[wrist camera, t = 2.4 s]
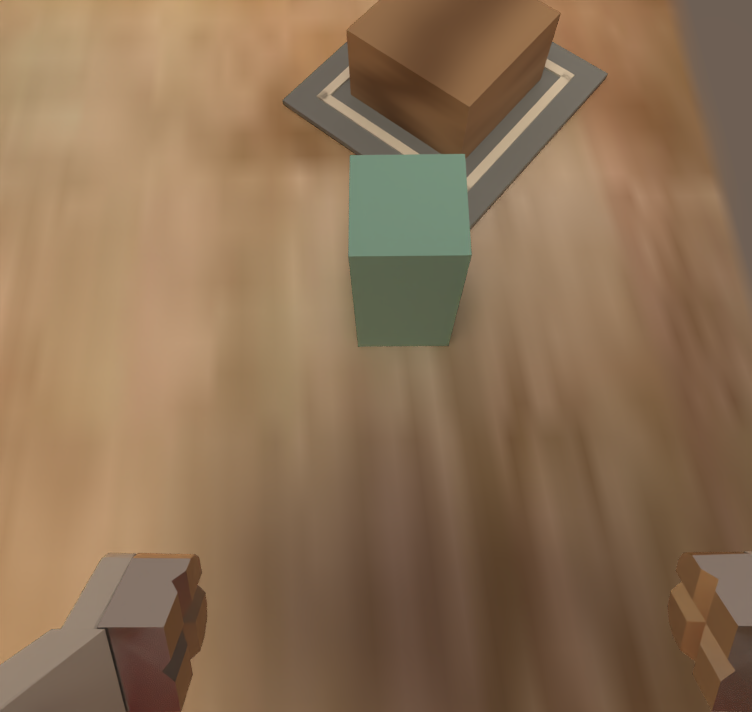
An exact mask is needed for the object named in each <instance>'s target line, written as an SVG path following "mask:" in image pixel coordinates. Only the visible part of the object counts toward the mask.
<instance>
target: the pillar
mask: <svg viewBox="0 0 752 712" xmlns="http://www.w3.org/2000/svg"><path fill="white" fill-rule="evenodd" d="M471 256H472V254H471V239H470V223H469V208H468V192H467V177H466V162H465V154H412V155H350V177H349V251H348V257H349V266H350V275H351V285H352V294H353V303H354V312H355V321H356V331H357V340H358V347H362V346H448V345H449V341H450V337H451V334H452V330H453V326H454V322H455V318H456V314H457V310H458V306H459V302H460V298H461V295H462V291H463V287H464V283H465V279H466V275H467V271H468V267H469V263H470V259H471Z"/></svg>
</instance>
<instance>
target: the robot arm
mask: <svg viewBox="0 0 752 712" xmlns="http://www.w3.org/2000/svg"><path fill="white" fill-rule="evenodd" d="M675 571H676V573H677V574H678V576H679V578H680V580H681V582H680V583H679V584H678V585H677V586H676V587H674V588H673V589H672V590H671V591H670V596H669V601H668V606H667V607H668V618H669V625H670V628H671V632H672V635H673V637H674V639H675V642H676V644H677V646H678V648H679V650H680V651H682V652H683V653H684V654H686V655H687V656H688V657H690V658H691V659H692V660H694V661H695V664H694V668H693V672H692V675H693V677H694V679H695V681H696V682H697V684H698V686H699V688H700V690H701V692H702V694H703V696H704V698H705V700H706V701H707V703H708V705H709V707H710V709H711V711H713V712H752V551H744V552H683V554H682V555H681V556H680V558H679V559H678V563H677V566H676V570H675ZM201 574H202V569H201V564H200V559H199V557H198V556H197V555H195V554H162V553H138V554H130V553H108V554H107V555H105V556H104V557H103V558H102V559H101V560H100V562H99V563H98V565H97V567H96V569H95V570H94V572H93V574H92V576H91V577H90V579H89V581H88V582H87V584H86V586H85V588H84V589H83V591H82V593H81V595H80V596H79V598H78V600H77V602H76V603H75V605H74V607H73V608H72V610H71V612H70V614H69V615H68V617H67V619H66V621H65V622H64V624H63V626H62V627H61V629H51V630H50V631H48V632H47V633H45V634H44V635H42V636H41V637H40V638H38V639H37V640H35V641H34V642H32V643H31V644H29V645H28V646H27V647H25V648H24V649H22V650H21V651H19V652H18V653H17V654H15V655H14V656H12V657H11V658H9V659H8V660H6V661H5V662H4V663H2V664H1V665H0V712H181V710H182V707H183V704H184V701H185V698H186V695H187V691H188V688H189V685H190V682H191V679H192V676H193V672H192V667H191V661H190V660H191V659H192V658H193V657H194V656H195V655H196V654H197V653H198V652H199V651H200V650H201V647H202V643H203V640H204V636H205V630H206V623H207V600H206V593H205V592H204V591H203V590H202V589H201V588H200V587H199V586H198V583H199V580H200V577H201Z"/></svg>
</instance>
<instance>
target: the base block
mask: <svg viewBox="0 0 752 712" xmlns="http://www.w3.org/2000/svg"><path fill="white" fill-rule="evenodd" d="M560 14H561V13H560V12H558V11H557V10H555V9H553V8H551V7H550V6H548V5H546V4H544V3H542V2H541V1H539V0H379V1H378V2H377V3H376V4H375V5H374V6H372V7H371V8H370V9H369V10H368V11H367V12H366V13H365V14H364V15H362V16H361V17H360V18H359V19H358V20H357V21H356V22H355V23H354V24H352V25H351V26H350V27H349V28H348V29H347V45H348V59H349V74H350V89H351V95H352V96H354V97H355V98H357V99H358V100H360V101H361V102H363V103H364V104H366V105H368V106H369V107H371V108H372V109H374V110H375V111H377V112H378V113H380V114H381V115H383V116H384V117H386V118H387V119H389V120H390V121H392V122H393V123H395V124H396V125H398V126H399V127H401V128H402V129H404V130H406V131H407V132H409V133H410V134H412V135H413V136H415V137H416V138H418V139H419V140H421V141H422V142H424V143H425V144H427V145H428V146H430V147H431V148H433V149H434V150H436V151H437V152H439V153H441V154H465V159H466V158H467V157H468V156H469V155H470V154H471V153H472V152H473V150H474V149H475V148H476V147H477V146H478V145H479V144H480V143H481V142H482V141H483V140H484V139H485V138H486V137H487V136H488V135H489V133H490V132H491V131H492V130H493V129H494V128H495V127H496V126H497V125H498V124H499V123H500V122H501V121H502V120H503V119H504V118H505V116H506V115H507V114H508V113H509V112H510V111H511V110H512V109H513V108H514V107H515V106H516V105H517V104H518V103H519V102H520V101H521V99H522V98H523V97H524V96H525V95H526V94H527V93H528V92H529V91H530V90H531V89H532V88H533V87H534V86H535V85H536V84H537V82H538V81H539V80H540V79H541V76H542V73H543V70H544V67H545V63H546V60H547V57H548V53H549V50H550V47H551V44H552V40H553V37H554V34H555V30H556V27H557V24H558V21H559V17H560Z"/></svg>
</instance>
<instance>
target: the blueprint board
mask: <svg viewBox="0 0 752 712" xmlns="http://www.w3.org/2000/svg"><path fill="white" fill-rule="evenodd" d="M607 75H608V74H607V73H606V72H604V71H602V70H601V69H599V68H597V67H595V66H594V65H592V64H590V63H588V62H587V61H585V60H583V59H581V58H580V57H578V56H576V55H574V54H573V53H571V52H569V51H567V50H566V49H564V48H562V47H561V46H559V45H557V44H555V43H554V42H552V44H551V47H550V50H549V53H548V57H547V60H546V63H545V67H544V70H543V73H542V76H541V79H540V80H539V81H538V82H537V84H536V85H535V86H534V87H533V88H532V89H531V90H530V91H529V92H528V93H527V94H526V95H525V96H524V97H523V98H522V99H521V101H520V102H519V103H518V104H517V105H516V106H515V107H514V108H513V109H512V110H511V111H510V112H509V113H508V114H507V115H506V116H505V118H504V119H503V120H502V121H501V122H500V123H499V124H498V125H497V126H496V127H495V128H494V129H493V130H492V131H491V132H490V133H489V135H488V136H487V137H486V138H485V139H484V140H483V141H482V142H481V143H480V144H479V145H478V146H477V147H476V148H475V149H474V150H473V152H472V153H471V154H470V155H469V156H468V157H467V158H466V159H465V162H466V177H467V192H468V208H469V223H470V229H471V228H472V227H473V226H474V225H475V223H476V222H477V221H478V220H479V219H480V218H481V217H482V216H483V215H484V213H485V212H486V211H487V210H488V209H489V208H490V207H491V206H492V205H493V203H494V202H495V201H496V200H497V199H498V198H499V197H500V196H501V195H502V193H503V192H504V191H505V190H506V189H507V188H508V187H509V186H510V184H511V183H512V182H513V181H514V180H515V179H516V178H517V177H518V176H519V174H520V173H521V172H522V171H523V170H524V169H525V168H526V167H527V166H528V164H529V163H530V162H531V161H532V160H533V159H534V158H535V157H536V156H537V154H538V153H539V152H540V151H541V150H542V149H543V148H544V147H545V145H546V144H547V143H548V142H549V141H550V140H551V139H552V138H553V137H554V135H555V134H556V133H557V132H558V131H559V130H560V129H561V128H562V127H563V125H564V124H565V123H566V122H567V121H568V120H569V119H570V118H571V117H572V115H573V114H574V113H575V112H576V111H577V110H578V109H579V108H580V106H581V105H582V104H583V103H584V102H585V101H586V100H587V99H588V98H589V96H590V95H591V94H592V93H593V92H594V91H595V90H596V89H597V88H598V86H599V85H600V84H601V83H602V82H603V81H604V80H605V79H606V77H607ZM283 104H284V105H285V106H287V107H288V108H289V109H291V110H292V111H294V112H295V113H297V114H298V115H300V116H301V117H303V118H304V119H306V120H307V121H308V122H310V123H311V124H313V125H314V126H316V127H317V128H319V129H320V130H322V131H323V132H325V133H326V134H327V135H329V136H330V137H332V138H333V139H335V140H336V141H338V142H339V143H341V144H342V145H344V146H345V147H346V148H348V149H349V150H351V151H352V152H354V153H355V154H357V155H412V154H441V153H439V152H437V151H436V150H434V149H433V148H431V147H430V146H428V145H427V144H425V143H424V142H422V141H421V140H419V139H418V138H416V137H415V136H413V135H412V134H410V133H409V132H407V131H406V130H404V129H402V128H401V127H399V126H398V125H396V124H395V123H393V122H392V121H390V120H389V119H387V118H386V117H384V116H383V115H381V114H380V113H378V112H377V111H375V110H374V109H372V108H371V107H369V106H368V105H366V104H364V103H363V102H361V101H360V100H358V99H357V98H355V97H354V96H352V95H351V89H350V74H349V59H348V45H347V42H346V43H345V44H344V45H343V46H342V47H341V48H339V49H338V50H337V51H336V52H335V53H334V54H333V55H332V56H331V57H330V58H328V59H327V60H326V61H325V62H324V63H323V64H322V65H321V66H320V67H318V68H317V69H316V70H315V71H314V72H313V73H312V74H311V75H310V76H309V77H307V78H306V79H305V80H304V81H303V82H302V83H301V84H300V85H299V86H298V87H296V88H295V89H294V90H293V91H292V92H291V93H290V94H289V95H288V96H286V97H285V98H284V99H283Z"/></svg>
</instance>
